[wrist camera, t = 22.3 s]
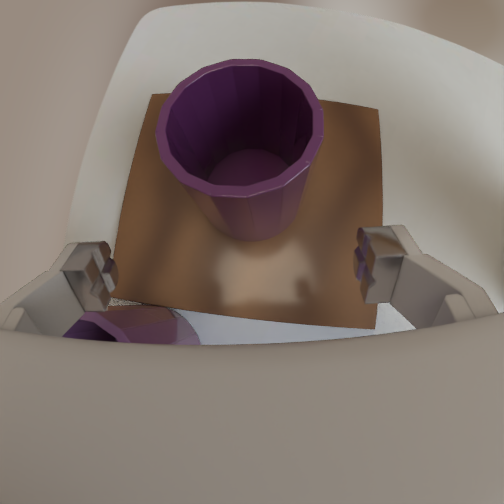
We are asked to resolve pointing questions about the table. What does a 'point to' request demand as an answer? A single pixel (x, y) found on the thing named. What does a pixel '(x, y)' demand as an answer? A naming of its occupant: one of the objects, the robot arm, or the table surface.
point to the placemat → (260, 252)
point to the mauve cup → (135, 326)
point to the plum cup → (243, 144)
